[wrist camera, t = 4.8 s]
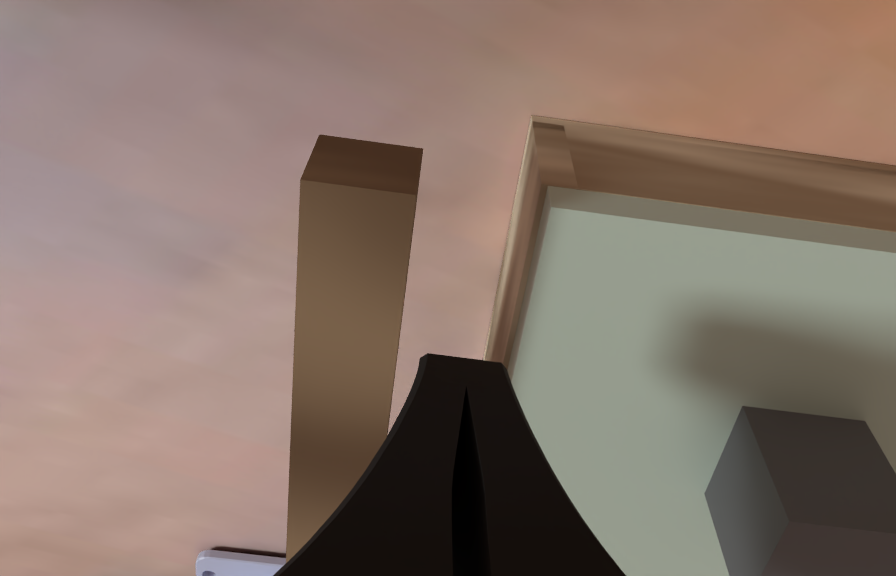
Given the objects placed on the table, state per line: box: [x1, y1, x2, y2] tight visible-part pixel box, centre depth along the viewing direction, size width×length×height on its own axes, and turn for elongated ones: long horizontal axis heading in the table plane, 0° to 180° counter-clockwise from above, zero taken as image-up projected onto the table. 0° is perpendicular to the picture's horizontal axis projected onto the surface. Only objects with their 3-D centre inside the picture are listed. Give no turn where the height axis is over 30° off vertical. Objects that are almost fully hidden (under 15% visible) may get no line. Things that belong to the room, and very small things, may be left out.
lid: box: [507, 186, 896, 576], centre depth 20 cm, size 12×12×6 cm
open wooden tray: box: [483, 115, 896, 369], centre depth 23 cm, size 12×12×4 cm
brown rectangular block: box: [286, 135, 423, 563], centre depth 19 cm, size 14×2×2 cm, turn 172°
